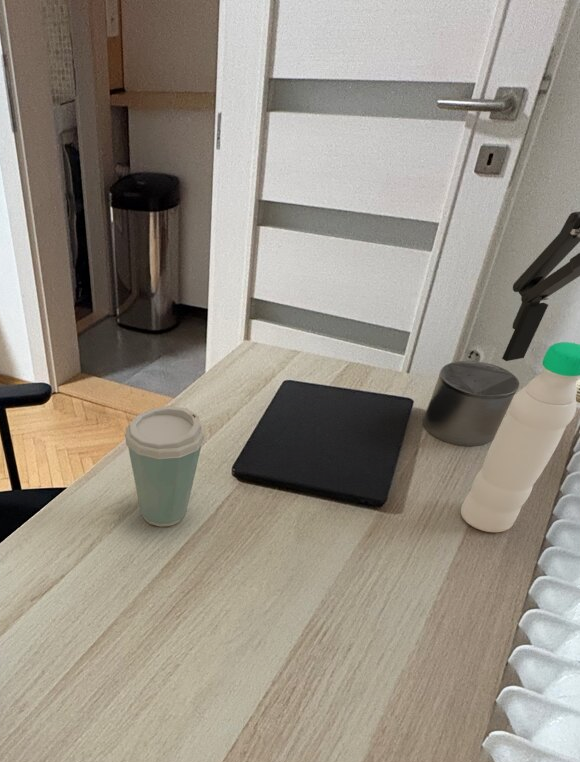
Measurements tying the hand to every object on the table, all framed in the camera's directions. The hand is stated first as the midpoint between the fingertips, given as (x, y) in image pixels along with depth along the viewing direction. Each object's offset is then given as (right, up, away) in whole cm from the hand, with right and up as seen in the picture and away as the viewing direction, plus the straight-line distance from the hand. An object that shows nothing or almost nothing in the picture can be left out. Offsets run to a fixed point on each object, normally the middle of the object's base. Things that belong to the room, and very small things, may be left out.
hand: (553, 383), depth 74 cm
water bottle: (+1, -14, +15) cm, 21 cm away
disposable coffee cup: (-46, -13, +18) cm, 51 cm away
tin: (+6, +4, +32) cm, 33 cm away
